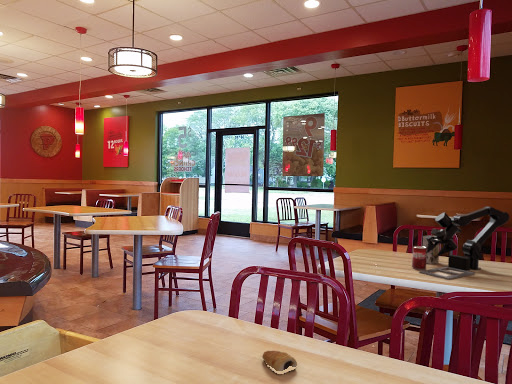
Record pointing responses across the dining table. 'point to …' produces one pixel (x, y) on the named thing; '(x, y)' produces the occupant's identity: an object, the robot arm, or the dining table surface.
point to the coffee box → (431, 252)
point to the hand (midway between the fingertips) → (432, 253)
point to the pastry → (279, 360)
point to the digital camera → (459, 262)
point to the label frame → (450, 271)
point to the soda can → (419, 258)
